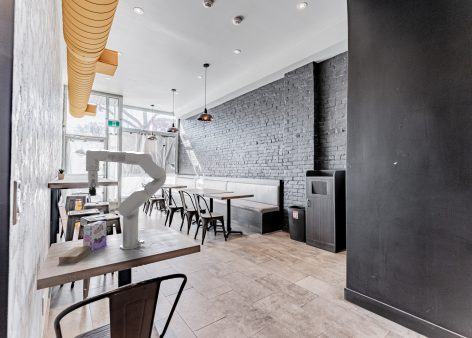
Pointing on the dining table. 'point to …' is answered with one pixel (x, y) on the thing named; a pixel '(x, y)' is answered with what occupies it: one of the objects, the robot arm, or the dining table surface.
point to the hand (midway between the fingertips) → (92, 195)
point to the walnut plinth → (74, 255)
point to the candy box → (94, 235)
